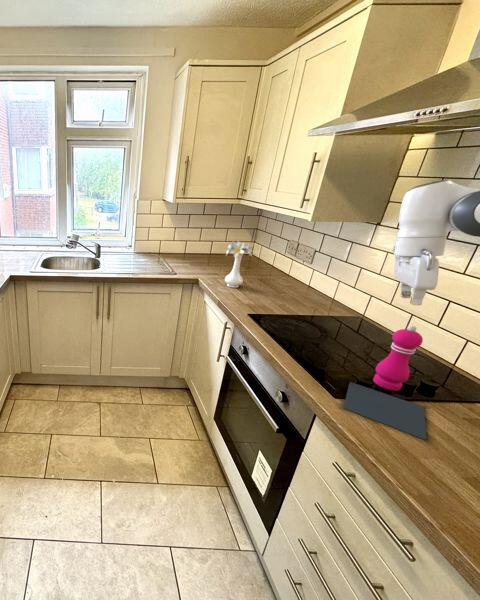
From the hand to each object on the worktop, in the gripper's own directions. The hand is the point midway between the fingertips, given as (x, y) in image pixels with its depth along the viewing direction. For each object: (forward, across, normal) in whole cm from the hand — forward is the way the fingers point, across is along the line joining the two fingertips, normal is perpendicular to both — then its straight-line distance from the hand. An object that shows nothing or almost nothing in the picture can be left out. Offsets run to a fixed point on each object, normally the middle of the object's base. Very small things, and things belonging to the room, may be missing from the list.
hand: (410, 301), depth 83 cm
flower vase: (+10, +77, +55) cm, 95 cm away
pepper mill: (+28, +8, 0) cm, 29 cm away
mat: (+29, -6, +3) cm, 30 cm away
